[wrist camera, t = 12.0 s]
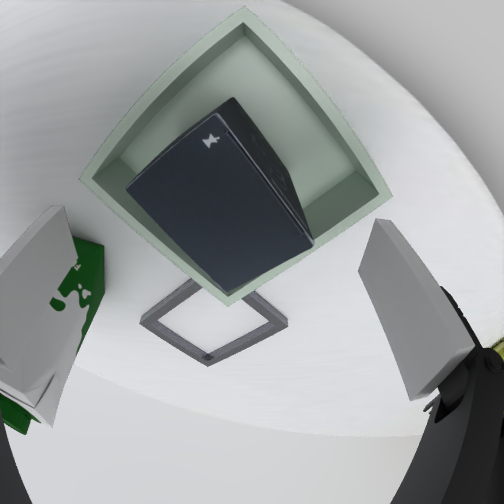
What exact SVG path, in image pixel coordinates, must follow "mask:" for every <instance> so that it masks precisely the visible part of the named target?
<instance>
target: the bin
mask: <svg viewBox="0 0 504 504" xmlns="http://www.w3.org/2000/svg"><path fill="white" fill-rule="evenodd" d="M232 97H234V98H235V99H236V100H237V101H238V103H239V104H240V105H241V106H242V108H243V109H244V110H245V112H246V113H247V114H248V116H249V117H250V118H251V119H252V121H253V122H254V123H255V125H256V126H257V127H258V129H259V130H260V132H261V133H262V134H263V136H264V137H265V139H266V140H267V141H268V143H269V144H270V146H271V147H272V148H273V150H274V151H275V153H276V154H277V155H278V157H279V158H280V160H281V161H282V163H283V164H284V166H285V167H286V169H287V170H288V172H289V174H290V177H291V179H292V182H293V185H294V187H295V190H296V193H297V196H298V198H299V201H300V203H301V206H302V209H303V212H304V215H305V218H306V220H307V223H308V226H309V229H310V232H311V234H312V237H313V240H314V242H315V244H314V246H313V247H312V248H311V249H309V250H307V251H305V252H303V253H301V254H299V255H297V256H296V257H294V258H292V259H290V260H288V261H286V262H284V263H282V264H281V265H279V266H277V267H275V268H273V269H271V270H269V271H268V272H266V273H264V274H262V275H260V276H258V277H256V278H254V279H253V280H251V281H249V282H247V283H245V284H243V285H241V286H239V287H237V288H235V289H233V290H231V291H229V292H227V293H226V292H224V290H223V289H222V288H220V287H219V286H218V285H217V284H216V283H215V282H214V281H213V280H212V279H211V278H210V277H209V276H208V275H207V274H206V273H205V272H204V271H203V270H202V269H201V268H200V267H199V266H198V265H197V264H196V263H195V262H194V261H193V260H192V259H191V258H190V257H189V256H188V255H187V254H186V253H185V252H184V251H183V250H182V249H181V248H180V247H179V246H178V245H177V244H176V243H175V242H174V241H173V240H172V239H171V238H170V237H169V236H168V235H167V234H166V232H165V231H164V230H163V229H162V228H161V227H160V226H159V225H158V224H157V223H156V222H155V221H154V220H153V219H152V218H151V217H150V216H149V215H148V214H147V213H146V212H145V210H144V209H143V208H142V207H141V206H140V205H139V204H138V203H137V202H136V201H135V200H134V199H133V198H132V197H131V196H130V195H129V193H128V192H127V191H126V190H125V188H126V186H127V185H128V184H129V183H130V182H131V181H132V180H133V179H134V178H135V177H136V176H137V175H138V174H139V173H140V172H141V171H142V170H143V169H144V168H145V167H146V166H147V165H148V164H149V163H150V162H151V161H152V160H153V159H154V158H155V157H156V156H157V155H158V154H159V153H160V152H162V151H163V150H164V149H165V148H166V147H167V146H168V145H169V144H170V143H171V142H173V141H174V140H175V139H176V138H177V137H179V136H180V135H181V134H183V133H184V132H185V131H186V130H188V129H189V128H190V127H191V126H193V125H194V124H195V123H197V122H198V121H199V120H201V119H202V118H203V117H205V116H206V115H208V114H209V113H210V112H212V111H213V110H214V109H216V108H217V107H219V106H220V105H221V104H223V103H224V102H226V101H227V100H228V99H230V98H232ZM79 180H80V181H81V182H82V183H83V184H84V185H86V186H87V187H88V188H89V189H90V190H91V191H92V192H93V193H94V194H95V195H96V196H97V197H98V198H99V199H100V200H101V201H103V202H104V203H105V204H106V205H107V206H108V207H109V208H110V209H111V210H112V211H113V212H115V213H116V214H117V215H118V216H119V217H120V218H121V219H122V220H123V221H125V222H126V223H127V224H128V225H129V226H130V227H131V228H132V229H134V230H135V231H136V232H137V233H138V234H139V235H140V236H142V237H143V238H144V239H145V240H146V241H147V242H149V243H150V244H151V245H152V246H153V247H154V248H156V249H157V250H158V251H159V252H160V253H162V254H163V255H164V256H165V257H166V258H167V259H169V260H170V261H171V262H172V263H174V264H175V265H176V266H177V267H178V268H180V269H181V270H182V271H183V272H184V273H186V274H187V275H188V276H189V277H191V278H192V279H193V280H194V281H196V282H197V283H198V284H199V285H201V286H202V287H203V288H204V289H206V290H207V291H208V292H209V293H211V294H212V295H213V296H215V297H216V298H217V299H218V300H220V301H221V302H222V303H224V304H225V305H226V306H227V307H228V306H230V305H232V304H233V303H235V302H236V301H238V300H240V299H241V298H243V297H244V296H246V295H247V294H249V293H251V292H252V291H254V290H255V289H257V288H258V287H260V286H262V285H263V284H265V283H266V282H268V281H269V280H271V279H272V278H274V277H276V276H277V275H279V274H280V273H282V272H283V271H285V270H286V269H288V268H289V267H291V266H292V265H294V264H295V263H297V262H298V261H300V260H302V259H303V258H305V257H306V256H308V255H309V254H311V253H312V252H314V251H315V250H317V249H318V248H320V247H321V246H322V245H324V244H325V243H327V242H328V241H330V240H331V239H333V238H334V237H336V236H337V235H339V234H340V233H342V232H343V231H345V230H346V229H347V228H349V227H350V226H352V225H353V224H355V223H356V222H358V221H359V220H360V219H362V218H363V217H365V216H366V215H368V214H369V213H371V212H372V211H373V210H375V209H376V208H378V207H379V206H380V205H382V204H383V203H385V202H386V201H387V200H389V199H390V198H392V197H393V195H392V193H391V192H390V190H389V188H388V186H387V184H386V183H385V181H384V179H383V177H382V176H381V174H380V172H379V170H378V169H377V167H376V165H375V164H374V162H373V160H372V159H371V157H370V156H369V154H368V152H367V151H366V149H365V148H364V146H363V144H362V143H361V141H360V140H359V138H358V137H357V135H356V134H355V132H354V131H353V129H352V128H351V126H350V125H349V124H348V122H347V121H346V119H345V118H344V116H343V115H342V114H341V112H340V111H339V110H338V108H337V107H336V105H335V104H334V103H333V101H332V100H331V99H330V97H329V96H328V95H327V94H326V92H325V91H324V90H323V88H322V87H321V86H320V85H319V83H318V82H317V81H316V80H315V78H314V77H313V76H312V75H311V74H310V72H309V71H308V70H307V69H306V68H305V67H304V65H303V64H302V63H301V62H300V61H299V60H298V59H297V57H296V56H295V55H294V54H293V53H292V52H291V51H290V50H289V49H288V47H287V46H286V45H285V44H284V43H283V42H282V41H281V40H280V39H279V38H278V37H277V36H276V35H275V34H274V33H273V32H272V31H271V30H270V29H269V28H268V27H267V26H266V25H265V24H264V23H263V22H262V21H261V20H260V19H259V18H258V17H257V16H256V15H255V14H254V13H252V12H251V11H250V10H249V9H248V8H247V7H246V6H243V7H242V8H241V9H239V10H238V11H236V12H235V13H234V14H232V15H231V16H229V17H228V18H227V19H225V20H224V21H223V22H221V23H220V24H219V25H218V26H216V27H215V28H214V29H212V30H211V31H210V32H209V33H208V34H206V35H205V36H204V37H203V38H201V39H200V40H199V41H198V42H197V43H196V44H194V45H193V46H192V47H191V48H190V49H189V50H188V51H187V52H185V53H184V54H183V55H182V56H181V57H180V58H179V59H178V60H177V61H176V62H175V63H174V64H173V65H171V66H170V67H169V68H168V69H167V70H166V71H165V72H164V73H163V74H162V75H161V76H160V77H159V78H158V79H157V80H156V81H155V83H154V84H153V85H152V86H151V87H150V88H149V89H148V90H147V91H146V92H145V93H144V94H143V95H142V96H141V98H140V99H139V100H138V101H137V102H136V103H135V104H134V106H133V107H132V108H131V109H130V110H129V111H128V113H127V114H126V115H125V116H124V117H123V119H122V120H121V121H120V122H119V124H118V125H117V126H116V127H115V129H114V130H113V131H112V132H111V134H110V135H109V136H108V138H107V139H106V140H105V142H104V143H103V144H102V146H101V147H100V148H99V150H98V151H97V153H96V154H95V155H94V157H93V158H92V160H91V161H90V163H89V164H88V166H87V167H86V169H85V170H84V172H83V173H82V175H81V176H80V178H79Z"/></svg>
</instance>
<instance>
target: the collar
mask: <svg viewBox="0 0 504 504" xmlns="http://www.w3.org/2000/svg"><path fill="white" fill-rule="evenodd" d="M201 288H203V287H202V286H201V285H199V284H198V283H197V282H196V281H194V280H193V279H192V278H191V279H190V280H189V281H187V282H186V283H185V284H183V285H182V286H181V287H179V288H178V289H177V290H176V291H174V292H173V293H172V294H170V295H169V296H168V297H166V298H165V299H164V300H162V301H161V302H160V303H159V304H157V305H156V306H155V307H153V308H152V309H151V310H150V311H148V312H147V313H146V314H144V315H143V316H142V317H141V320H140V323H139V324H141V325H142V326H143V327H145V328H146V329H148V330H149V331H151V332H152V333H154V334H155V335H157V336H158V337H160V338H161V339H163V340H164V341H166V342H168V343H169V344H171V345H172V346H174V347H176V348H177V349H179V350H180V351H182V352H184V353H185V354H187V355H189V356H190V357H192V358H194V359H195V360H197V361H199V362H200V363H202V364H204V365H206V366H207V367H208V366H211V365H213V364H215V363H217V362H219V361H221V360H223V359H226V358H228V357H230V356H232V355H234V354H236V353H238V352H240V351H242V350H244V349H246V348H248V347H250V346H252V345H254V344H256V343H258V342H260V341H262V340H264V339H266V338H268V337H270V336H272V335H274V334H275V333H277V332H279V331H281V330H283V329H285V328H287V327H288V321H287V318H286V317H284V316H283V315H282V314H281V313H280V312H278V311H277V310H276V309H275V308H274V307H272V306H271V305H270V304H269V303H268V302H267V301H265V300H264V299H263V298H262V297H261V296H259V295H258V294H257V293H256V292H255V291H252V292H251V293H249V294H247V295H246V296H244V297H243V298H241V299H242V300H243V301H245V302H246V303H247V304H248V305H250V306H251V307H252V308H253V309H255V310H256V311H257V312H258V313H260V314H261V315H262V316H263V317H265V318H266V319H267V320H269V321H270V322H268V323H267V324H265V325H263V326H261V327H259V328H258V329H256V330H254V331H252V332H250V333H248V334H246V335H245V336H243V337H241V338H239V339H237V340H235V341H233V342H231V343H229V344H227V345H225V346H223V347H222V348H220V349H218V350H216V351H214V352H212V353H210V354H207V353H205V352H204V351H202V350H200V349H199V348H197V347H196V346H194V345H192V344H191V343H189V342H188V341H186V340H185V339H183V338H182V337H180V336H178V335H177V334H175V333H174V332H172V331H171V330H169V329H168V328H166V327H165V326H164V325H162V324H161V323H159V322H158V321H156V320H158V319H159V318H161V317H162V316H163V315H165V314H166V313H168V312H169V311H170V310H172V309H173V308H175V307H176V306H177V305H179V304H180V303H182V302H183V301H184V300H186V299H187V298H189V297H190V296H191V295H193V294H194V293H196V292H197V291H198V290H200V289H201Z"/></svg>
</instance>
